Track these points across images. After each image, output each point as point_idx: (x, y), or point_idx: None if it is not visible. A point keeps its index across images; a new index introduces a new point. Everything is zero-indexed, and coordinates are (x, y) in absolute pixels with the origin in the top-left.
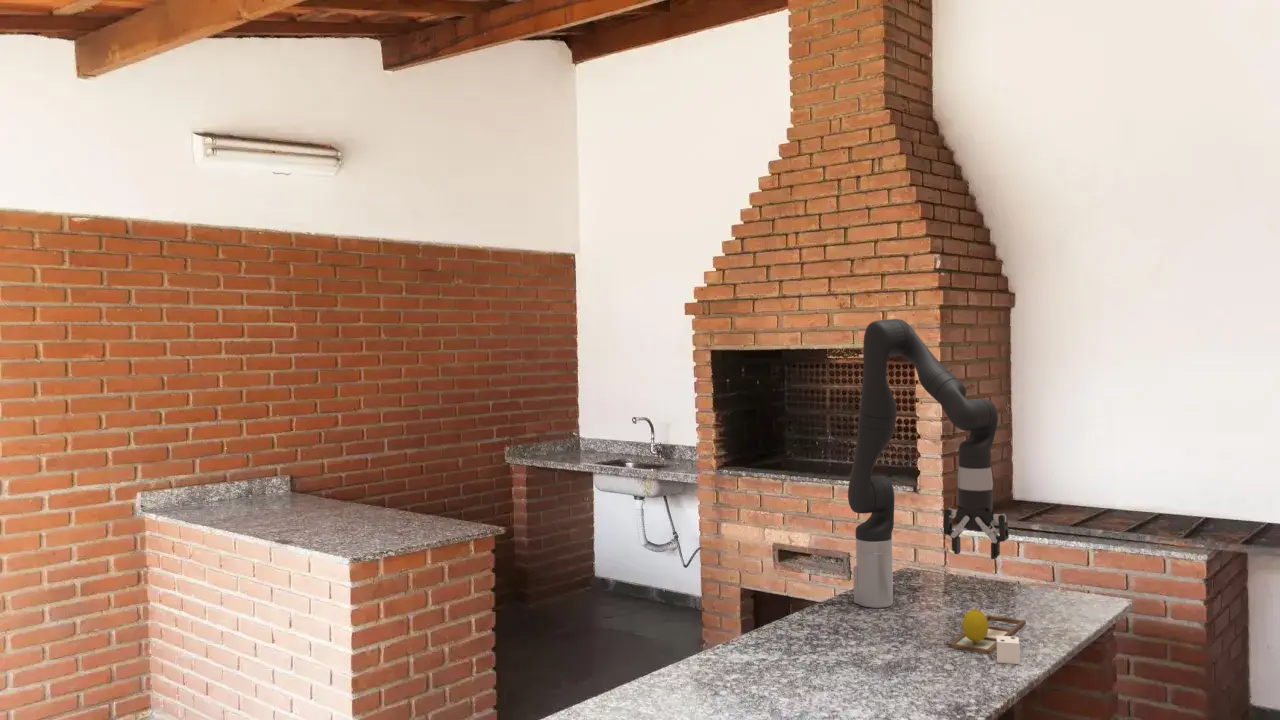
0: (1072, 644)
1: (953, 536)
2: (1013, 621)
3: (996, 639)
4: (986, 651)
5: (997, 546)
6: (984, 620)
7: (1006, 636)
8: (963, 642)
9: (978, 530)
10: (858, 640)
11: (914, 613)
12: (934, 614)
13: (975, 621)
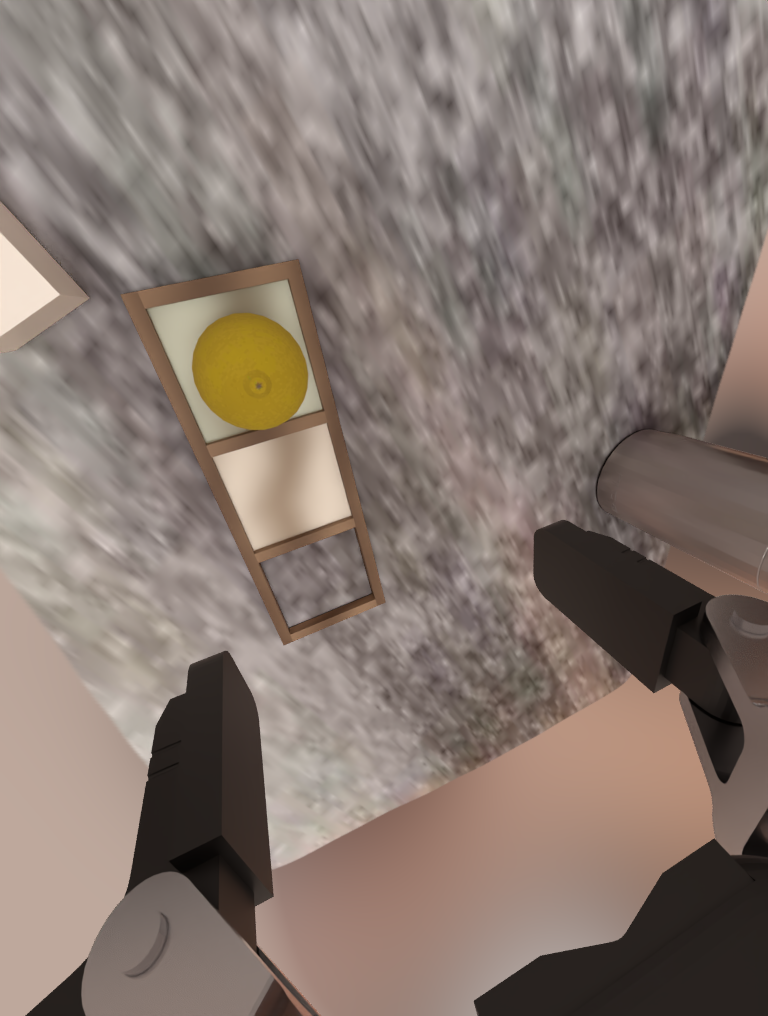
0: (40, 619)
1: (738, 608)
2: (310, 622)
3: (48, 277)
4: (136, 291)
5: (136, 844)
6: (197, 375)
7: (11, 318)
8: None
9: (526, 994)
10: (572, 76)
11: (534, 484)
12: (493, 516)
13: (217, 330)
